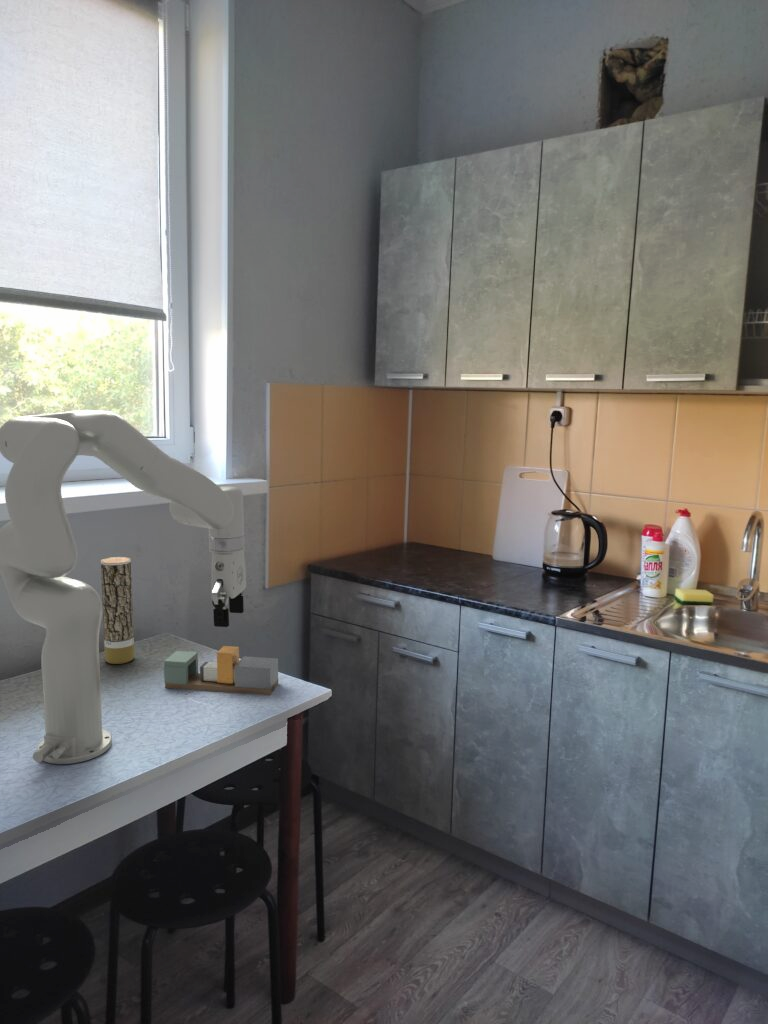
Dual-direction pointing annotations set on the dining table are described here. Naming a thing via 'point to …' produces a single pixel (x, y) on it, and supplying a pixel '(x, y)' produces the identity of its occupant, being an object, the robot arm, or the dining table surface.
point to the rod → (221, 666)
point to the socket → (180, 667)
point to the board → (217, 686)
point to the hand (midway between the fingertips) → (229, 619)
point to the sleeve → (256, 672)
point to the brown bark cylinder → (117, 609)
